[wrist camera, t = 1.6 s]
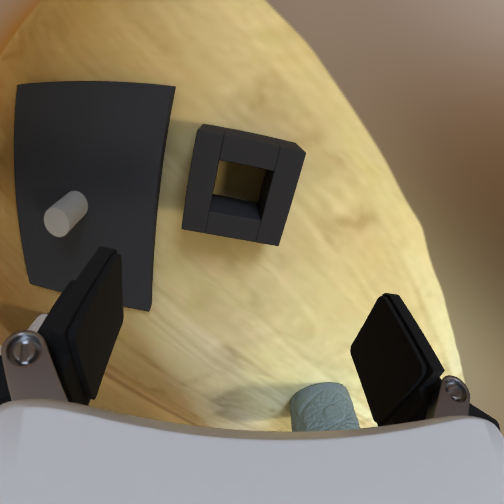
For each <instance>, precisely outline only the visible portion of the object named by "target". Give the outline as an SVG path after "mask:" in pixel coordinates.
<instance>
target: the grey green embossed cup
mask: <svg viewBox="0 0 504 504" xmlns="http://www.w3.org/2000/svg"><path fill="white" fill-rule="evenodd" d="M290 414H291V424H292V432H310V431H334V430H349V429H361V428H360V427H359V423H358V418H357V417H356V413H355V411H354V407H353V403H352V400H351V398H350V395H349V393H348V390H347V389H346V387H345V386H343V385H341V384H338V383H331V382H328V383H320V384H315V385H312V386H309V387H306V388H304V389H302V390H300V391H299V392H297V393H296V394H295V395H294V396H293V397H292V399H291V401H290Z"/></svg>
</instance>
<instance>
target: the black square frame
mask: <svg viewBox="0 0 504 504" xmlns="http://www.w3.org/2000/svg"><path fill="white" fill-rule="evenodd" d="M305 155H306V152H304V151H303V150H302V149H301V148H300V147H299V146H298V145H297V144H296V143H293V142H289V141H285V140H281V139H277V138H272V137H268V136H263V135H259V134H254V133H249V132H244V131H239V130H234V129H229V128H224V127H218V126H212V125H207V124H203V125H202V126H201V127H200V128H199V129H198V130H197V134H196V139H195V145H194V150H193V156H192V162H191V168H190V174H189V180H188V186H187V193H186V200H185V206H184V214H183V221H182V229H184V230H190V231H195V232H201V233H207V234H212V235H218V236H224V237H230V238H235V239H241V240H247V241H252V242H255V241H256V242H258V243H263V244H269V245H275V246H279V243H280V239H281V236H282V233H283V230H284V226H285V223H286V220H287V216H288V213H289V210H290V206H291V203H292V200H293V196H294V193H295V189H296V186H297V183H298V179H299V176H300V172H301V169H302V165H303V162H304V158H305ZM219 160H222V161H227V162H232V163H238V164H243V165H248V166H253V167H257V168H262V169H266V172H265V176H264V180H263V184H262V188H261V192H260V196H259V200H258V203H257V202H252V201H247V200H241V199H236V198H231V197H225V196H220V195H214V194H213V189H214V184H215V179H216V174H217V169H218V164H219ZM212 194H213V195H212Z"/></svg>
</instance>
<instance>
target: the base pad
mask: <svg viewBox="0 0 504 504" xmlns="http://www.w3.org/2000/svg"><path fill="white" fill-rule="evenodd" d="M175 88H176V87H175V86H167V85H157V84H145V83H131V82H109V81H64V82H43V83H30V84H21V85H18V86H17V95H16V107H15V124H14V172H15V189H16V201H17V211H18V220H19V227H20V234H21V241H22V247H23V252H24V258H25V263H26V268H27V272H28V277H29V281H30V284H33V285H36V286H40V287H43V288H47V289H51V290H55V291H59V292H63V291H64V289H65V288H66V286H67V285H68V283H69V282H70V281H71V280H76V279H77V277H78V276H79V274H80V273H81V272H82V270H83V269H84V267H85V266H86V264H87V263H88V262H89V260H90V259H91V258H92V256H93V255H94V253H95V252H96V251H97V249H98V248H99V247H100V246H102V247H107V248H113V249H116V250H117V254H121V256H122V294H123V307H128V308H133V309H138V310H143V311H150V308H151V305H152V281H153V261H154V245H155V232H156V220H157V210H158V200H159V191H160V182H161V174H162V166H163V159H164V152H165V145H166V139H167V133H168V126H169V121H170V115H171V109H172V104H173V99H174V93H175Z"/></svg>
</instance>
